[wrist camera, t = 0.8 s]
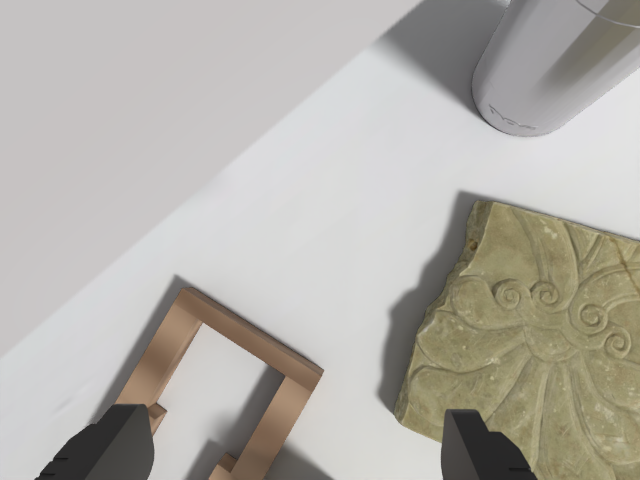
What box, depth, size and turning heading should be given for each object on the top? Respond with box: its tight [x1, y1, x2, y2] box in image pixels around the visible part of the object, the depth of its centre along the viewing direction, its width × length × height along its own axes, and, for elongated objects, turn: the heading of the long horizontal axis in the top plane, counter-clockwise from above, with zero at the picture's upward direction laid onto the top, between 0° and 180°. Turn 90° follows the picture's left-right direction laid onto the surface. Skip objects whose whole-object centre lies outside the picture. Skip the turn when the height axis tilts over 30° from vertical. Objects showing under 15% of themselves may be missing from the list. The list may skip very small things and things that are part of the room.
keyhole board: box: [115, 287, 324, 480], centre depth 32 cm, size 22×14×2 cm, turn 150°
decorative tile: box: [393, 201, 640, 480], centre depth 29 cm, size 19×20×4 cm
